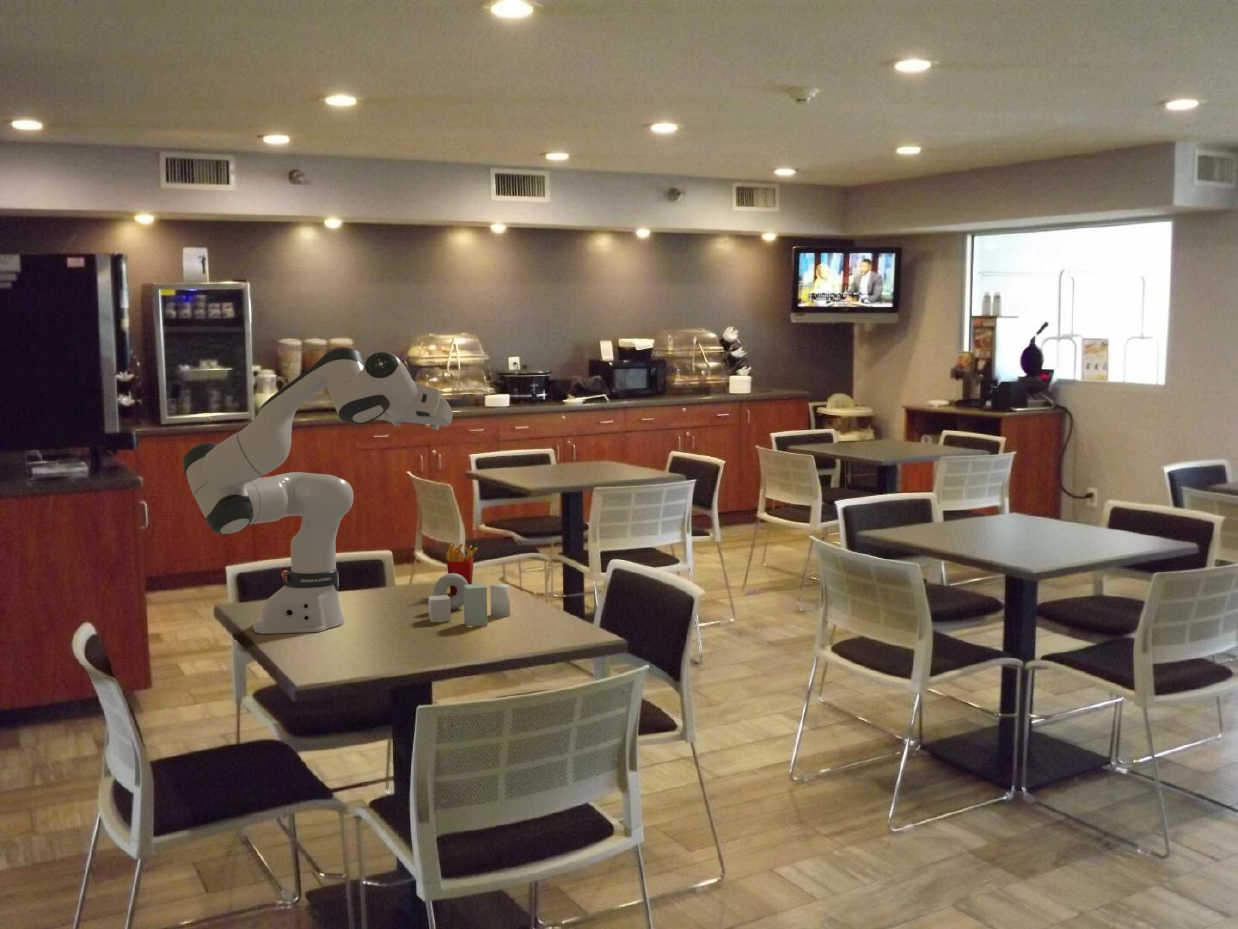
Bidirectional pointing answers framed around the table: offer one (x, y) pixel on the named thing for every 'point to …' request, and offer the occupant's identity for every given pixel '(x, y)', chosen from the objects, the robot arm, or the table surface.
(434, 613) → the grey cube
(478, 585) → the sage block
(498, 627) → the table surface
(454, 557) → the french fries
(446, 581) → the donut
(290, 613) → the robot arm
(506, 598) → the white canister
